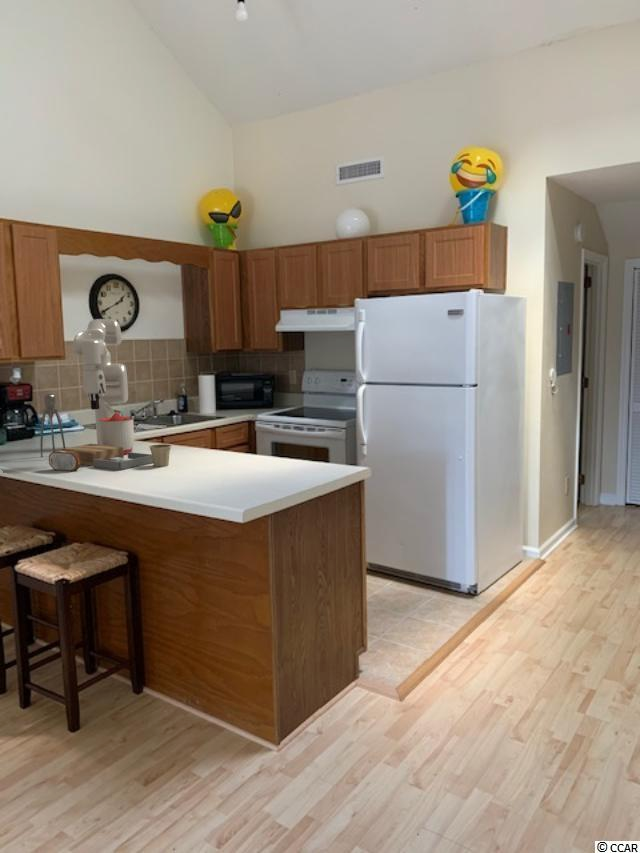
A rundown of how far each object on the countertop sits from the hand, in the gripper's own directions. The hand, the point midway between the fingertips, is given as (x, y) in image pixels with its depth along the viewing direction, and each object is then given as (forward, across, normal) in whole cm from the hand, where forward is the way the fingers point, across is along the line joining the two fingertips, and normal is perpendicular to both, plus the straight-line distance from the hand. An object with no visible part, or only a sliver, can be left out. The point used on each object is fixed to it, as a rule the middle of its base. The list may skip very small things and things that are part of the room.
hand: (95, 409), depth 297 cm
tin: (+24, -4, +21) cm, 32 cm away
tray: (+23, -18, +1) cm, 30 cm away
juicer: (+24, +31, +2) cm, 39 cm away
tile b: (+21, -13, +1) cm, 25 cm away
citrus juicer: (+24, +7, -19) cm, 32 cm away
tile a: (+21, -19, +1) cm, 28 cm away
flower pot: (+23, -34, -4) cm, 42 cm away
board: (+24, +3, +1) cm, 24 cm away
